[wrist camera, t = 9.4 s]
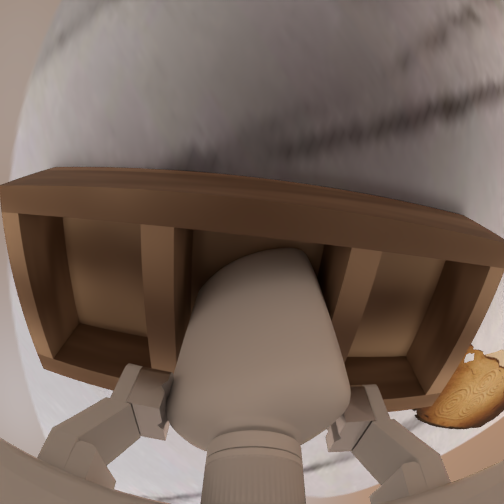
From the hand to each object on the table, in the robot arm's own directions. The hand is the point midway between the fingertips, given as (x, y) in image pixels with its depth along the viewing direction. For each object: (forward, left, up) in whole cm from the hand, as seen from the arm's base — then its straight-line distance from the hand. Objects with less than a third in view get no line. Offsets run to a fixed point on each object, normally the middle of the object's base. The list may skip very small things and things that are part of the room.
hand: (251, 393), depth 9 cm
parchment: (+10, +22, -8) cm, 25 cm away
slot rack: (0, 0, -7) cm, 7 cm away
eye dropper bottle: (-1, 0, -6) cm, 6 cm away
